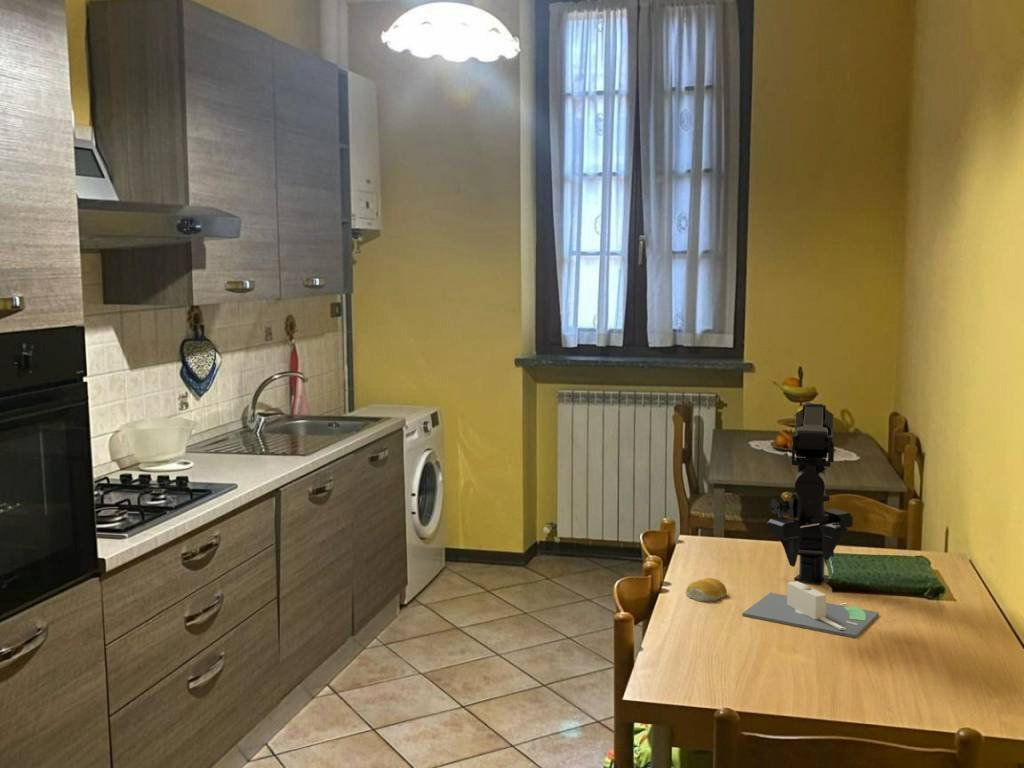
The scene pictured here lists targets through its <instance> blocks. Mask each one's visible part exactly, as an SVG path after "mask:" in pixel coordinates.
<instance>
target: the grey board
mask: <svg viewBox="0 0 1024 768" xmlns="http://www.w3.org/2000/svg"><path fill="white" fill-rule="evenodd" d="M849 604H850V603H849V602H843V603H838V604H834V603H830V602H829V603H828V602H826V619H828V620H830V621H832V622H834V623H836V624H838V625H840V626H842V627H844V629H843V630H839V629H837V628H835V627H833V626H832V625H830V624H828V623H826V622H824V621H822V620H820V619H817V620H815V619H813V618H811V617H809V616H807V615H805V614H803V613H801V612H800V611H798V610H796V609H794V608H792V607H790V606H788V605H787V594H780V593H776V592H769V593H767V595H765V596H764V597H762V598H761V599H759V600H758V601H757V602H755V603H753V605H751V606H750V607H749V608H747V609H746V610H745V611H743V612H742V616H743V617H747V618H752V619H757V620H763V621H768V622H773V623H778V624H783V625H788V626H793V627H798V628H803V629H808V630H812V631H817V632H823V633H828V634H832V635H838V636H841V637H846V638H851V639H852V638H853V639H857V638H858V637H859V636H860V635H861V634H862V632H864V631H865V629H867V628H868V626H870V625H871V624H872V623H873V621H875V619H877V618H878V617H879V616H880V615H879V614H880V612H878V611H873V610H868V609H863V608H860V606H845V605H849Z"/></svg>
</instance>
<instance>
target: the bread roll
mask: <svg viewBox="0 0 1024 768" xmlns="http://www.w3.org/2000/svg"><path fill="white" fill-rule="evenodd" d="M727 593H728V592H727V588H726V585H725V584H724V583H723V582H722V581H720V580H718V579H716V578H714V577H707V578H702V579H699V580H696V581H692V582H690V583H689V584H688V585H687V587H686V589H685V594H686V596H687V597H688V598H690V599H691V600H695V601H698V602H714V601H718V600H719V599H723V598H724V597H726V596H727Z"/></svg>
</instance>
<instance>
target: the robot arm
mask: <svg viewBox="0 0 1024 768" xmlns="http://www.w3.org/2000/svg"><path fill="white" fill-rule="evenodd" d="M826 408H827V405H826V404H823V403H809V402H808V403H805V404H802V409H800V410H799V411H797V412H796V413H795V422H794V424H795V425H794V432H795V434H792V446H791V466H797V467H796V477H795V481H794V482H795V483H794V489H795V492H792V494H791V498H790V499H789V500H784V498H783V497H782V496H781V497H774V498H771V499H770V510H771V513H772V514H774V515H775V514H777V516H778V517H773V518H770V519H769V520H768V521H767V522H766V532H767V533H770V534H772V536H773V537H776V538H777V539H778V540H779V541H780V543H781V544H782V546H783V549H784V552H785V555H786V557H787V561H788V564H789V566H790V567H791V568H792V567H793V568H794V567H795V566H796V563H797V559H798V556H799V563H798V564H799V567H798V568H799V569H798V570H799V571H798V572H799V573H798V574H797V575H796V576H795V577H794V578H793V580H794V581H798V582H801V583H807V584H808V583H809V584H814V585H822V584H823V583H825V582H826V581H827V580H829V578H830V576H829V575H827V574H825V562H826V561H829V560H830V559H831V557H833V556H835V555H834V551H835V549H836V547H837V545H838V544H839V542H840V541H841V539H842V538H843V536H844V535H845V533H846V532H848V531H849V528H851V527H853V526H854V525H853V523H854V521H853V520H854V518H853V516H852V514H851V513H850V512H849V511H848V512H847V511H844V510H841V509H837V508H830V509H826V502H828V501H829V502H830V495H828V494H826V477H827V476H826V475H827V473H826V472H827V469H826V468H830V467H831V463H834V459H835V457H834V456H835V455H834V454H835V441H834V440H833V437H834V417H835V415H834V414H833V413H832V412H831V411H829V410H828V409H826ZM786 516H788V518H787V517H786ZM790 518H791V519H790ZM794 519H795V520H794ZM828 577H829V578H828Z"/></svg>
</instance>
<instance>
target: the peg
mask: <svg viewBox="0 0 1024 768" xmlns="http://www.w3.org/2000/svg"><path fill="white" fill-rule="evenodd" d="M786 584H787V586H786V591H787V592H786V596H787V605H788V606H790V607H792V608H794V609H796V610H798V611H800V612H801V613H803V614H805V615H807V616H809V617H811V618H813V619H815V620H817V619H820V620H822V621H824V622H826V623H828V624H830V625H832V626H833V627H835V628H837V629H839V630H843V629H844V627H842V626H840V625H838V624H836V623H834V622H832V621H830V620H828V619H826V603H827V595H826V594H825V593H822V592H821V591H818V590H816V589H814V588H812V587H810V586H808V585H806V584H804V583H803V582H801V581H796V580H794V581H789V582H787V583H786Z"/></svg>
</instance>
